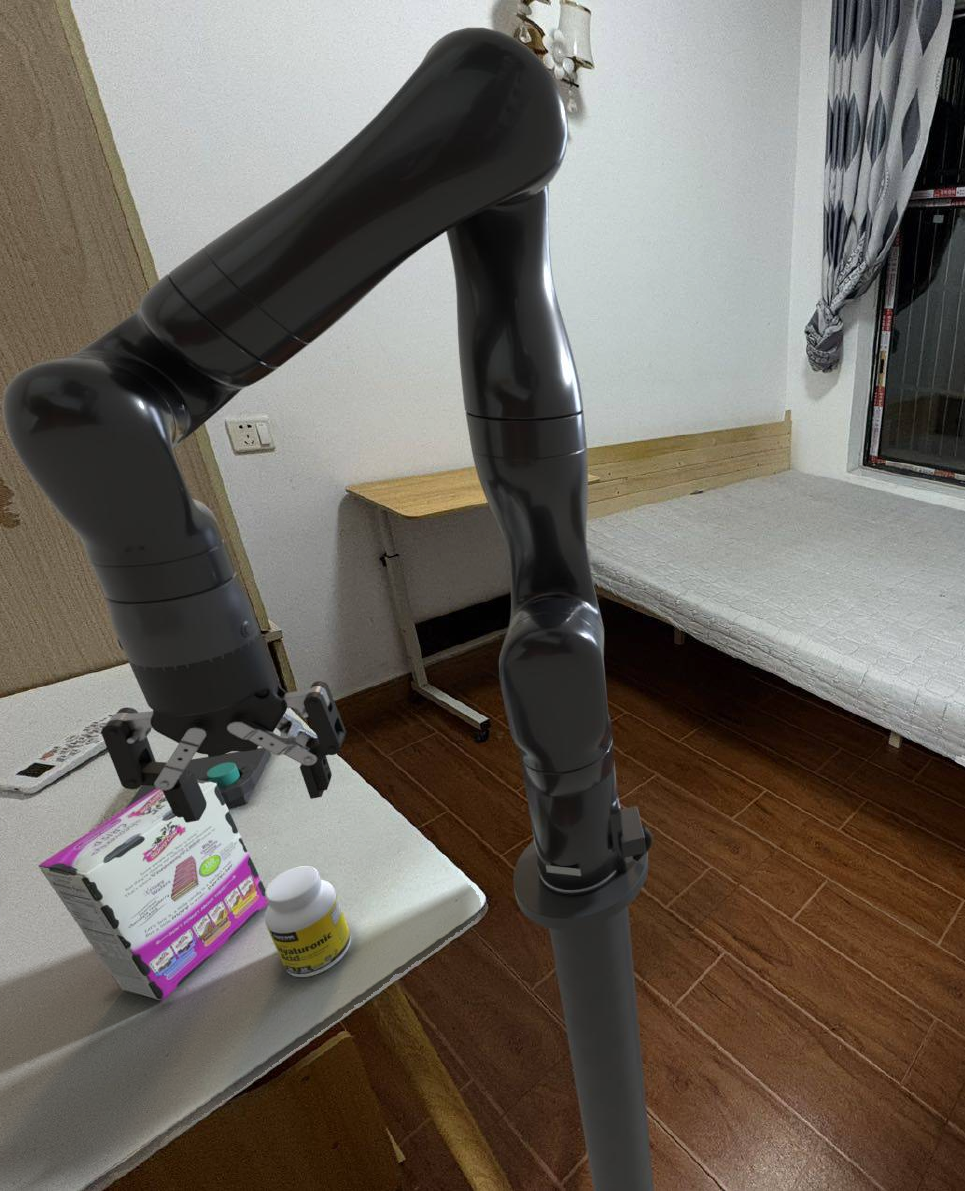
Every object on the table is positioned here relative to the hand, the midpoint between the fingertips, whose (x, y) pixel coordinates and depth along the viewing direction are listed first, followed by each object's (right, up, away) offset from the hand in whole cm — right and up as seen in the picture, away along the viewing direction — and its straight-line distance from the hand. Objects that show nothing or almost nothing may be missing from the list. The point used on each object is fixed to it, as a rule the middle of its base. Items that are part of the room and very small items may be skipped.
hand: (259, 803), depth 55 cm
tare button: (-25, -5, +25) cm, 36 cm away
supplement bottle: (-1, -18, +8) cm, 20 cm away
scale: (-30, -7, +27) cm, 41 cm away
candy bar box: (-13, -17, +8) cm, 23 cm away
